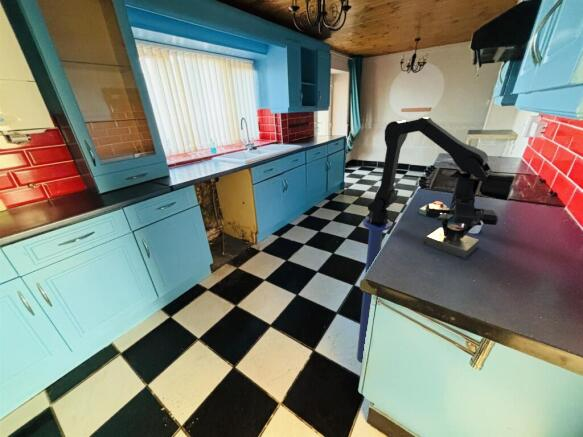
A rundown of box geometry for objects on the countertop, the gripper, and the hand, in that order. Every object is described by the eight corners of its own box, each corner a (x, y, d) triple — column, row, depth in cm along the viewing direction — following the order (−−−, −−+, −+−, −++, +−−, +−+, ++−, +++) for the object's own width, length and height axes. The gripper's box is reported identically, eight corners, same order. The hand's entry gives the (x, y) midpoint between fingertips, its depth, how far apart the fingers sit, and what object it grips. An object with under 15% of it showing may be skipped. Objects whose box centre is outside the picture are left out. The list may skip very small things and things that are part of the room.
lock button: (431, 206, 103) (432, 202, 102) (435, 204, 105) (436, 200, 104) (440, 208, 100) (441, 204, 100) (444, 206, 102) (445, 202, 102)
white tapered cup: (466, 224, 94) (470, 208, 91) (485, 231, 88) (491, 214, 85) (455, 228, 91) (459, 212, 89) (474, 236, 86) (479, 218, 83)
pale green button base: (418, 213, 106) (420, 204, 104) (428, 207, 111) (430, 199, 109) (445, 220, 98) (447, 212, 96) (454, 214, 103) (456, 206, 101)
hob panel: (425, 243, 83) (427, 236, 81) (438, 234, 88) (440, 227, 87) (464, 258, 74) (467, 250, 73) (476, 247, 79) (479, 239, 78)
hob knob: (445, 239, 79) (448, 228, 77) (444, 233, 82) (447, 222, 81) (461, 242, 77) (464, 230, 75) (459, 236, 81) (462, 224, 79)
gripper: (431, 198, 70) (421, 243, 77) (511, 205, 63) (493, 254, 69) (430, 187, 79) (421, 228, 86) (500, 192, 72) (484, 237, 78)
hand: (452, 236), depth 80 cm, fingers closed on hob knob, 4 cm apart
